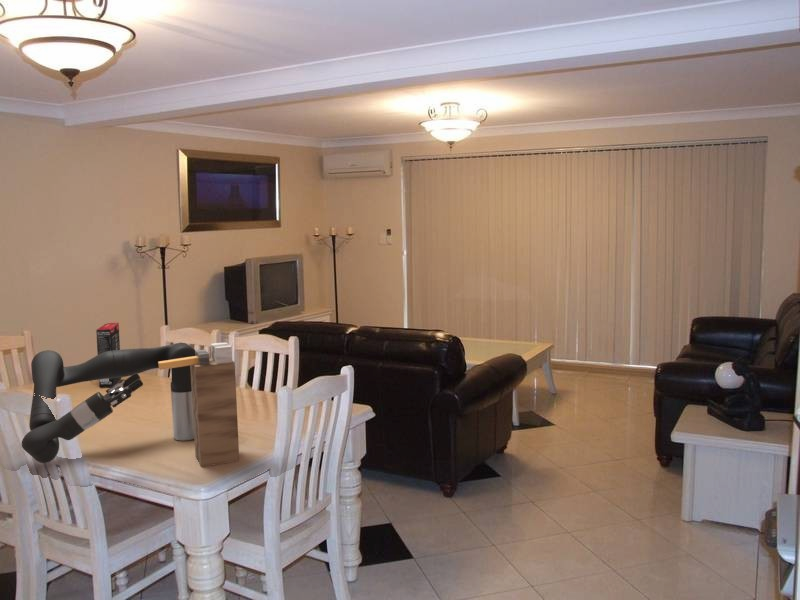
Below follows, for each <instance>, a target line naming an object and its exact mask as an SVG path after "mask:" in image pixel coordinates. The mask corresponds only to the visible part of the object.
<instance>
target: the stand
mask: <svg viewBox="0 0 800 600" xmlns="http://www.w3.org/2000/svg"><path fill="white" fill-rule="evenodd" d="M195 356H197V357H198V358H199V364H195V365H190V369H191V387H192V405H193V423H194V439H193V440H194V452H195V453H194V456H195V459H196V461H197V460H198V461H197V463H198V462H199V463H198V464H199V466H200V468H203V466H204V467H209V465H210V466H214V465H213V464H216V465H221V464H220V463H222V464H227V463H226V462H228V463H233V461H234V462H238V461H240V446H239V444H240V443H239V426H238V425H239V424H238V421H239V420H238V403H237V402H238V401H237V385H236V384H237V383H236V363H235V361H233V347H232V346H231V344H229V343H228V342H215V343H210V353H209V352H208V351H207V350H206V349H198V350H197V349H195Z"/></svg>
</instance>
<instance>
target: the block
mask: <svg viewBox="0 0 800 600" xmlns="http://www.w3.org/2000/svg"><path fill="white" fill-rule="evenodd" d="M195 364H199V358H198V357H197V356H192V357H185V358H179V359H172V360H166V361H159V362H158V366H159V368H158V369H159V371H161V370H162V371H163V370H169V369H171V368H176V367H182V366H188V365H195Z"/></svg>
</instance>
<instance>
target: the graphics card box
mask: <svg viewBox="0 0 800 600" xmlns="http://www.w3.org/2000/svg"><path fill="white" fill-rule="evenodd" d="M95 331H96V332H95V333H96V348H97V355H99V354H101V353H103V352H106V351H113V350H121V345H120V344H121V342H120V324H119V322H107V323H105V324H103V325H102V326H100V327H99V328H97V329H95ZM120 380H122V377H118V378H108V379H100V380H98V387H99V388H111V387H112V386H113V385H115V384H116V383H118V382H119V381H120Z"/></svg>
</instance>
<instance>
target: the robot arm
mask: <svg viewBox="0 0 800 600" xmlns="http://www.w3.org/2000/svg"><path fill="white" fill-rule="evenodd" d="M195 350H196V349H194V347H192V346H191V345H190V344H189V343H185V342H177V343H171V344H168V345H162V346H158V347H156V346H155V347H148V348H147V347H146V348H143V347H141V348H126V349H123V348H122V349H120V350H113V351H106V352H103V353H101V354H99V355H98V354H97V355H96V356H94V357H92V358H90V359H88V360H86V361H85V362H82V363H79V364H76V365H71V366H64V360H63V358H62V357H63V356H61V354H60V353H58V352H57V351H54V350H42V351H39V352H38V353H36V354H35V355H34V356H33V358H32V360H31V364H30V366H31V367H30V368H31V370H30V371H31V379H32V383H33V393H32V399H31V406H30V415H29V422H28V423H29V424H28V426H29V430H30V431H28V432H27V433H26V434H25V435H24V437H23V438H22V440H21V448H22V449H23V450H24V451H25V452H26V453H27V454H28V455H29V456H31V457H32V458H33V459H34V460H35V461H37V462H38V463H41V464H46V463H50V462H52V461H53V460H54V459H55V458H56V457H57V455H58V453H59V450H60V439H63V440H65V441H71V440H73V439H74V438H77V436H79V435H80V434H82V433H83V432H84V431H86V430H88V429H90V428H92V427H94V426H95V425H96V424H98V423H99V422H101V421H102V420H104V419H105V418H107V417H108V416H110V415H111V414H113V412H114V410H113V409H114V408H116V407H117V406H119V405H121V404H122V403H124V402H125V401H126V400H128V399H129V398H131V397H132V395H133V393H134V392H135V391H136V390H138V389H140V388H141V387H142V386H144V382H143V381H142V380H141V377H140V375H139V374H141V373H144V372H147V371H151V370H154V369H159V366H158V362H159V361H166V360H172V359H179V358H185V357H192V356H195ZM170 370H171V371H170V372H171V382H170V395H171V396H170V397H171V410H172V411H171V413H172V429H173V430H172V432H173V439H174V440H176V441H191V440H194V423H193V405H192V387H191V369H190V365H188V366H182V367H176V368H170ZM118 377H121V379H120V380H119V381H118V382H117V383H116V384H115V385H113V386H112V387H108V388H107V389H106V390H105V392H106V393H105V394H104V395H103V394H102V393H101V392H99V391H97V392H96V393H93V394H92V395H91V396H90V397H88V398H86V399H85V400H83V401H82V402H81V403H79V404H78V405H76V406H75V407H73V409H72V410H70V411H68V412H67V413H66V414H64V415H63V416H61V417H60V418H59V419H57V418H56V419H55V417H54V415H53V414H52V412H51V410H50V409H49V407H48V405H47V404H46V403H45V402H44V401H43V399H42V398H44V397H46V398H45V399H47V398H51V399H54V398H55V397H56V398H57V388H59V387H60V388H61V387H63V386H69V385H75V384H80V383H83V382H93V381H99V380H100V379H108V378H118ZM126 377H128V378H126ZM122 378H126V379H122ZM34 393H35V394H34ZM34 395H35V396H34ZM39 395H40V396H39ZM41 396H44V397H42V398H41ZM59 438H60V439H59Z"/></svg>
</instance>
